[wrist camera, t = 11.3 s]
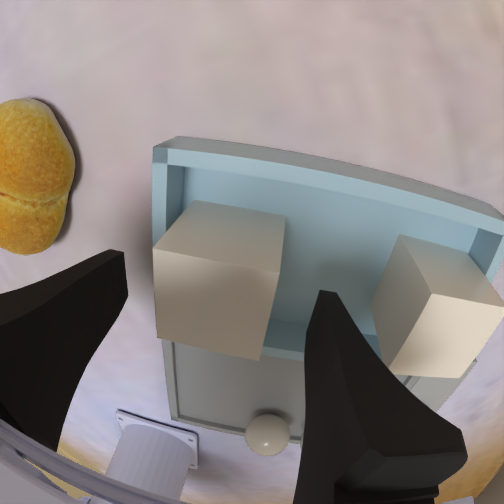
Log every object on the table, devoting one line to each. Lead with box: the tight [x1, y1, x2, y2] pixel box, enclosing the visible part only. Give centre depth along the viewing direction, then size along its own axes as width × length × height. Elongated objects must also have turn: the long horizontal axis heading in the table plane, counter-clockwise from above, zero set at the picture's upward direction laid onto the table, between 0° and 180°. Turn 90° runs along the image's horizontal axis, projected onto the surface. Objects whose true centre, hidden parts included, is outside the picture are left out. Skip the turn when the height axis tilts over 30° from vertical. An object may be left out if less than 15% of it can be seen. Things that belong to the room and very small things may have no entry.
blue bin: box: [152, 136, 504, 362], centre depth 13 cm, size 9×15×2 cm, turn 83°
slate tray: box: [162, 339, 477, 444], centre depth 19 cm, size 12×20×1 cm, turn 83°
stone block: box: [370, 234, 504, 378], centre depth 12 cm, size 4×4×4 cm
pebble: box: [245, 414, 290, 456], centre depth 19 cm, size 3×3×3 cm
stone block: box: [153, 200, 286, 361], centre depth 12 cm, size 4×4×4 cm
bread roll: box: [0, 98, 75, 256], centre depth 13 cm, size 8×9×4 cm
